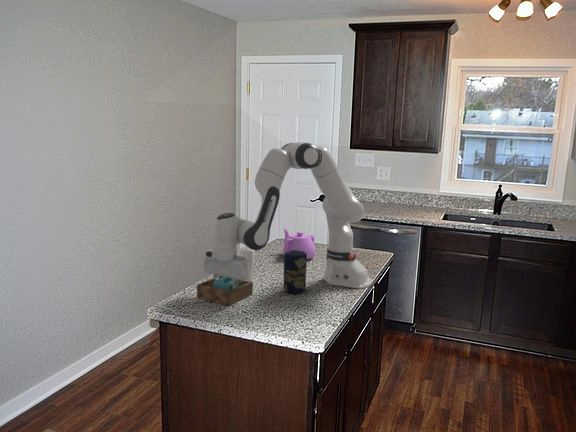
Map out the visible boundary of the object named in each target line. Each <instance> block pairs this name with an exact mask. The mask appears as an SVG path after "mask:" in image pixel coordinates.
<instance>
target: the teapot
mask: <svg viewBox="0 0 576 432" xmlns="http://www.w3.org/2000/svg"><path fill="white" fill-rule="evenodd" d="M283 231H284V245H283V249H282V254H283V256H284V255H285V253H286V252H287V251H292V250H297V251H303V252H305V253H306V254H307V260H311V259H312V258H313V257H314V256H315V255H316V247H315V244H314V243H315V237H314V236H313V235H312V234H304V232H303V231H297V232H296V233H294V234H291V235H290V233H289V230H288V229H286V228H283Z"/></svg>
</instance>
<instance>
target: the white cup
mask: <svg viewBox="0 0 576 432" xmlns="http://www.w3.org/2000/svg"><path fill="white" fill-rule="evenodd" d="M238 250H239V251H238V253H239V254H238V256H239V257H244V258H245V259H246V260H247V266H248V278H247V279H246V281H251V282H253V273H254V266H255V265H254V264H255V255H256V254H255V250H252V249H250V248H249V247H247V246H242V247H239V249H238Z"/></svg>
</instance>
